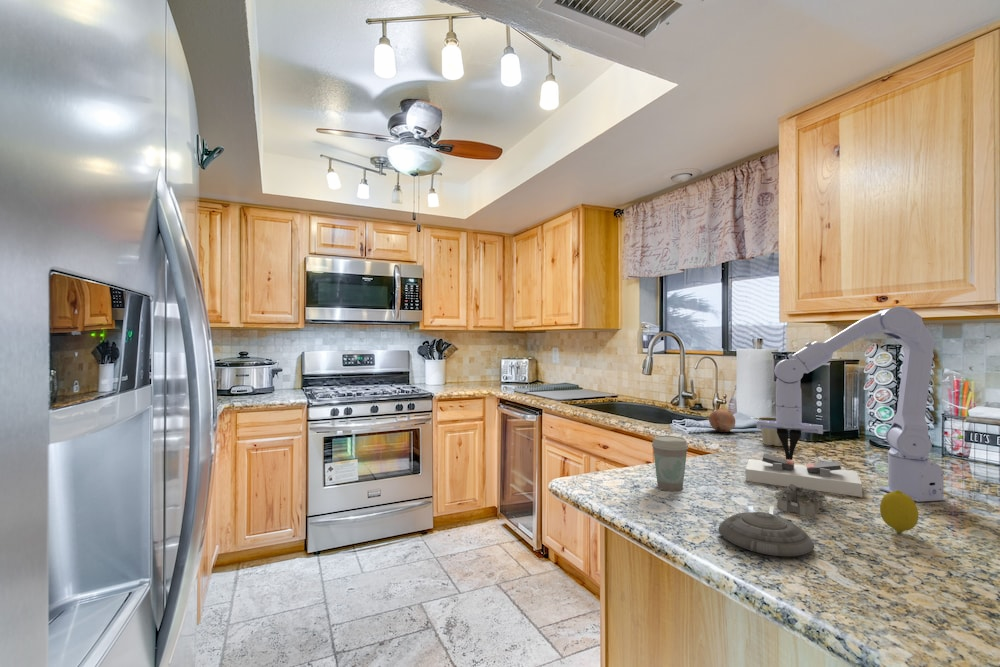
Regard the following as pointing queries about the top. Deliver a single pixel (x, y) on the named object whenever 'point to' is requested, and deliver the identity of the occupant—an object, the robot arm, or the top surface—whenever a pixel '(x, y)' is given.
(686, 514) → the top surface
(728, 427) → the onion
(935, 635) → the top surface
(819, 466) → the breaker near
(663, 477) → the coffee cup
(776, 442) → the flower pot
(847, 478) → the breaker panel
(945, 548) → the top surface
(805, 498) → the grey stone ruin model
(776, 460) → the breaker far
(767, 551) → the flying saucer
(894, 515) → the lemon
